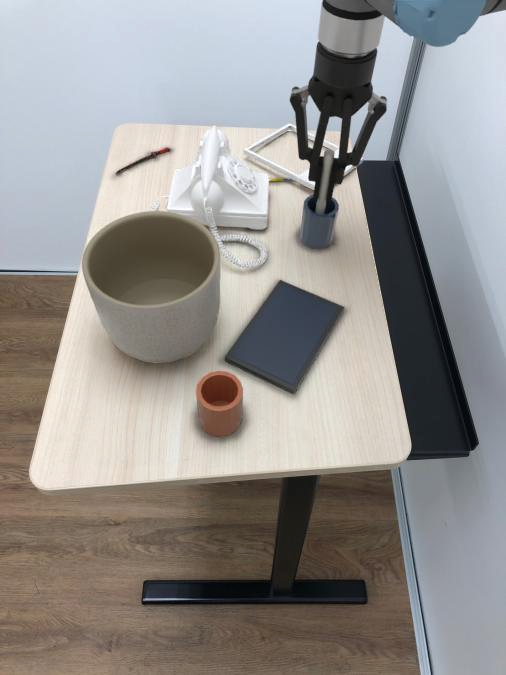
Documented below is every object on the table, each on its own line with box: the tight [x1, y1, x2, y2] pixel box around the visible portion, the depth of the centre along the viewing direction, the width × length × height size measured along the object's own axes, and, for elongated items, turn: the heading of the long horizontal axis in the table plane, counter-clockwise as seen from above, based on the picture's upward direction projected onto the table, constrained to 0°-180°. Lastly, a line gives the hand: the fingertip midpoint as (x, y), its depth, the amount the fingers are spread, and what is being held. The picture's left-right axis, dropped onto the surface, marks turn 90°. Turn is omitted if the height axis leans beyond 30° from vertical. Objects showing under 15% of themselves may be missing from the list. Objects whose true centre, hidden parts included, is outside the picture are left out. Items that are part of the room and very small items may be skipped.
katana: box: [115, 147, 171, 175], centre depth 102 cm, size 13×2×1 cm, turn 135°
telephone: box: [149, 124, 270, 269], centre depth 88 cm, size 25×21×12 cm
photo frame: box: [242, 122, 364, 191], centre depth 103 cm, size 15×1×18 cm
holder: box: [299, 194, 340, 250], centre depth 89 cm, size 6×6×7 cm
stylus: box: [315, 149, 335, 214], centre depth 85 cm, size 2×2×16 cm
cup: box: [195, 370, 244, 438], centre depth 68 cm, size 6×6×7 cm
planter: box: [81, 210, 221, 364], centre depth 73 cm, size 17×17×15 cm
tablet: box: [224, 279, 345, 395], centre depth 79 cm, size 11×17×1 cm, turn 151°
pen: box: [269, 178, 294, 182], centre depth 100 cm, size 14×1×1 cm, turn 98°
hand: (322, 197), depth 85 cm, fingers closed on stylus, 1 cm apart
